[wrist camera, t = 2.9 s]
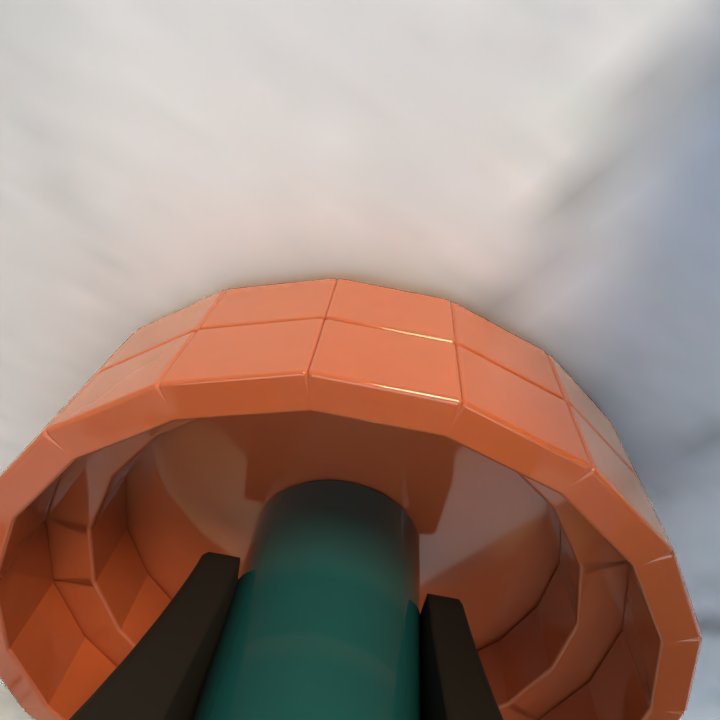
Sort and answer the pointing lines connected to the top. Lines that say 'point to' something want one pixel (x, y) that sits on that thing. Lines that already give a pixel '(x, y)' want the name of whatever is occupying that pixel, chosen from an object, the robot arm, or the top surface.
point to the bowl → (354, 464)
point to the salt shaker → (322, 613)
